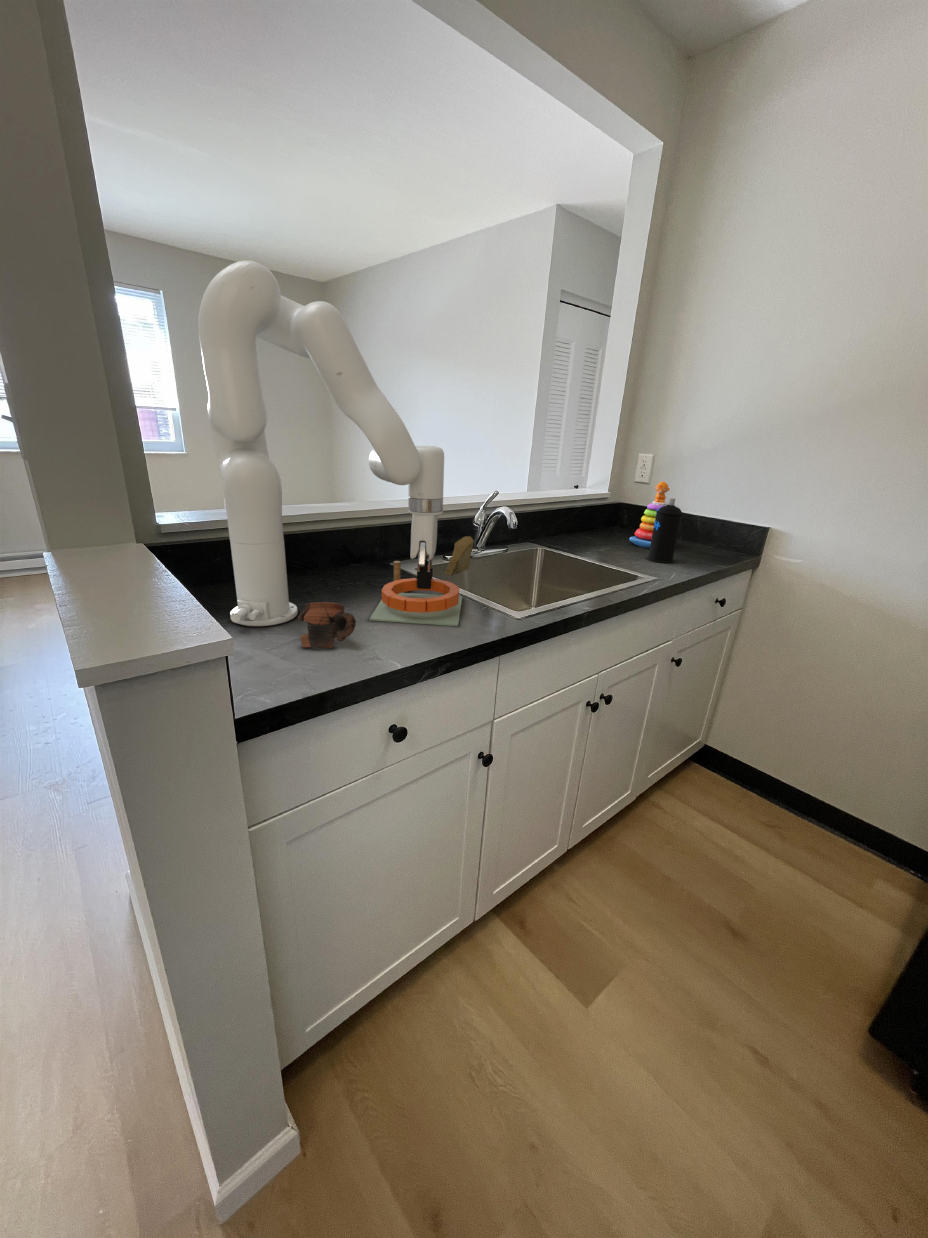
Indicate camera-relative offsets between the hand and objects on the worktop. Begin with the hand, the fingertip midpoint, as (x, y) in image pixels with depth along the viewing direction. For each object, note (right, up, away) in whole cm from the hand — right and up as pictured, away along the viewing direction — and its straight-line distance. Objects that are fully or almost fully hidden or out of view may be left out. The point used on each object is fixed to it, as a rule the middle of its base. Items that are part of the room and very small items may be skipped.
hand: (424, 585), depth 114 cm
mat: (-1, -5, -6) cm, 8 cm away
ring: (0, -3, -6) cm, 7 cm away
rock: (+7, +6, +24) cm, 26 cm away
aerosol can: (+74, +12, +49) cm, 90 cm away
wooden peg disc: (-7, -1, +6) cm, 9 cm away
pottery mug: (-16, -12, -24) cm, 31 cm away
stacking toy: (+79, +20, +71) cm, 108 cm away
